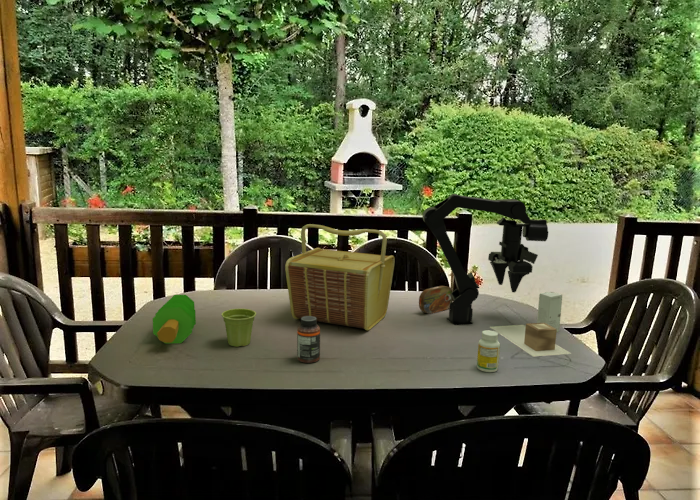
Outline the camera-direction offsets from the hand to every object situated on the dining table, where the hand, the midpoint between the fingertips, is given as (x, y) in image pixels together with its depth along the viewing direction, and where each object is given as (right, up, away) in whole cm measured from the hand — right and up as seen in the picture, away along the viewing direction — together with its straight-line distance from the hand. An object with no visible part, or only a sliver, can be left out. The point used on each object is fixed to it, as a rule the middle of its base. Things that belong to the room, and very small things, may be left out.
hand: (507, 288), depth 176 cm
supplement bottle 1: (-61, -17, -31) cm, 70 cm away
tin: (-21, -9, +15) cm, 27 cm away
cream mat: (+3, -15, -12) cm, 19 cm away
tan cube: (+4, -9, -19) cm, 22 cm away
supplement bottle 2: (-15, -18, -33) cm, 41 cm away
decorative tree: (-100, -12, -14) cm, 101 cm away
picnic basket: (-53, -10, +4) cm, 54 cm away
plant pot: (-81, -14, -21) cm, 84 cm away
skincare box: (+11, -13, -4) cm, 18 cm away
